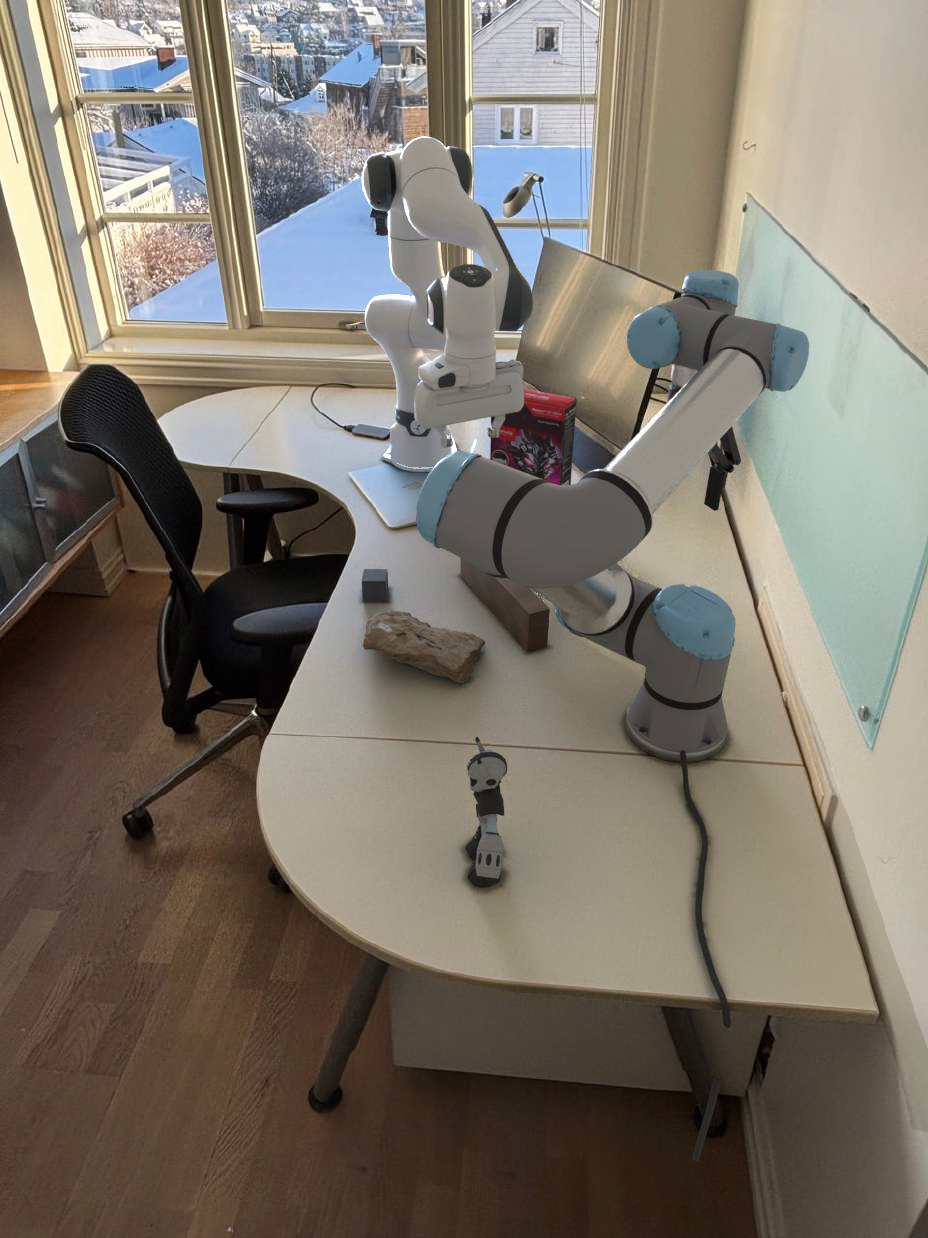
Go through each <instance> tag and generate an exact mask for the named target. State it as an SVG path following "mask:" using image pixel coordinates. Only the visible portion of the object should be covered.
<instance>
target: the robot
mask: <svg viewBox="0 0 928 1238" xmlns="http://www.w3.org/2000/svg"><path fill="white" fill-rule="evenodd" d="M474 740H475V743H476V746H477V748H478V750H479V751H478V752H477V753H475V755H473V756H472V757H471V758H470V759H469V761H468V762H467V765H466V770H467V776H468V779H469V781H470V782H469V789H470V791H472V792H473V793H472V794H473V796H474V799H475V801H476V804H475V814H476V819H477V820H478V827H477V828H476V831H475V833H474V835H473V836H472V838H471V839H470V841H469V842H468V843H467V845H466V847H465V851H466V853H467V855H468V857H469V858H470V859H472V860H474V861H473V862H472V864H471V866H470V868H469V871H468V874H467V877H466V878H467V879H468V880H469V882H470V883H472V885H473V886H476V887H479V888H486V887H491V886H492V885H494V884H496V883H498V882H500V880H501V877H502V873H503V872H502V867H503V866H502V865H503V859H504V849H505V847H504V843H503V838H502V836H501V835H500V833H498V825H497V824H498V816H501V817H504V816H505V804H504V803H505V801H504V797H503V795H502V793H501V785H500V784H501V783H502V779H503V778H504V777H506V775H507V773H508V762H507V759H506V758H505V757H504V756H503V755H502V754H501V753H499V752H497V751H495V750H492V749H485V747H484V745H483V743H482V741H481V739H480V738H479V736H476V737H475V739H474Z"/></svg>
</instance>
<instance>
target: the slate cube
mask: <svg viewBox="0 0 928 1238" xmlns="http://www.w3.org/2000/svg"><path fill="white" fill-rule="evenodd" d="M361 595H362V602H380V603H381V602H387V601H388V596H389V570H388V568H363V571H362V578H361Z"/></svg>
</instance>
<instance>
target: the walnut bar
mask: <svg viewBox="0 0 928 1238" xmlns="http://www.w3.org/2000/svg"><path fill="white" fill-rule="evenodd" d="M460 577H461V578H462V579H463V581H464V582H465V583H466V584H467V586H468V587H469V588H470V589H471V590H472V591H473V592H474V594H476V596H477V597H478V598H479V599H480V600H481V601H482V603H484V605H485V606H486V607H487V608H488V610H489V611H490V612H491V613H492V614H493V615H494V617H496V618H497V620H498V621H499V622H500V623H501V624H502V625H503V627H504V628H505V629H506V630H507V631H508V632H509V633H510V635H511V636H512V637H513V638H514V639H515V640H516V641H517V642H518V644H519V645H520V646H521V647H522V648H523V649H524V651H525V652H526V653H530V652H534V651H537V650H542V649H545V648H548V642H549V627H550V613H551V608H550V607H549V606H548V605H547V604H546V603H545V602H544V601H543V600H542V599H541V598H540V597H539V596H538V595H537V594H536V592H535V591H534V590H532V589H531V588H529V587H527V586H524V585H521V584H518V583H516V582H514V581H512V580H511V579H500V578H495V577H492V576H490V575H488V574H486V573H484V572H483V571H481V570H480V569H478V568H476V567H475V566H473V565H472V564H470V563H468V562H467V561H465V560H464V559H462V558H460Z"/></svg>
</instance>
